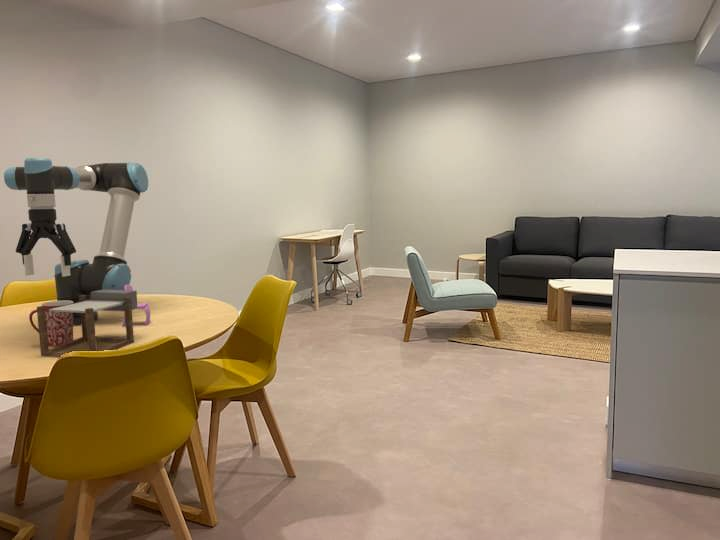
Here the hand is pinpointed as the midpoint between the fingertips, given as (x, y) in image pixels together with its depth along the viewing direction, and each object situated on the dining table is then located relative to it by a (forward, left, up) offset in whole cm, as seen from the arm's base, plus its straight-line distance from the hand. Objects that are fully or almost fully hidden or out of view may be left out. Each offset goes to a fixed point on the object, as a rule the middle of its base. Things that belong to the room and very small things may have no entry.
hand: (47, 275), depth 172 cm
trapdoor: (+15, +2, -12) cm, 20 cm away
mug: (0, 0, -23) cm, 23 cm away
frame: (+15, -2, -23) cm, 27 cm away
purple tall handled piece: (+10, +29, -23) cm, 38 cm away
